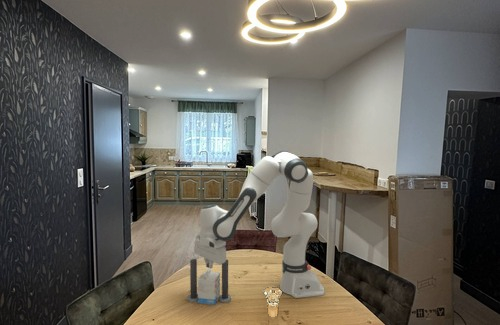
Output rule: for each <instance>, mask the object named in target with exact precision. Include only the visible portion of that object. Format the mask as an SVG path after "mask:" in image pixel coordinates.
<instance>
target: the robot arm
mask: <svg viewBox="0 0 500 325" xmlns="http://www.w3.org/2000/svg"><path fill="white" fill-rule="evenodd" d="M280 176H283V177H284V178H286V179H287V180H289V181H290V182H289V188H288V194H287V199H286V201H285V203H284V204H285V205H284V206H283V208H282V210H280V212H279V213H278V214H277V215H276V216H274V217H273V218H272V219H271V220H272V221H271V222H270V228H271V232H272V233H273V235H274V236H275V237H278V238H279V237H281V238H289V237H290V238H289V239H288V241H286V242H285V243H284V245H283V252H282V253H283V254H282V255H283V256H282V263H281V271H282V274H281V279H280V283H279V284H280V285H279V289H280V290H281V291H282V292H283V293H285V294H287V295H289V296H292V297H293V298H295V299H299V298H308V297H309V298H310V297H319V296H325V288H324V285H323V284H322V283H321V282H320V280H319V279H320V278H319V277H318V275H317V274H316V273H315V272H314V271H312V270H311V269H312V266H311V265H310V263H309V262H308V261H307V260H306V250H307V249H306V248H307V244H308V242H309V239H310V237H311V236H312V235H313V233H314V232H315V231H316V230H317V228H318V219H317V217H316V215H314V214H313V213H310V212H305V211H306V210H307V209H308V208H309V207H310V204H311V198H312V195H313V194H312V193H313V186H314V173H313V171H312V169H310V168H308V166H307V164H306V162H305V161H303V160H302V159H301V158H300V157H299V156H297V155H296V154H292V153H291V152H289V151H288V150H279V151H277V152H276V153H275V154H273V155H272V156H270V155H269V156H268V155H266V156H263V157H262V158H261V159H260V160H259V161H257V163H256V164H255V166H253V167H252V169H251V170H250V172H249V173H248V175H247V177H246V178H245V180H244V182H243V185H242V186H241V190H240V193H239V195H238V197H237V198H236V200H235V202H234V203H233V205H232V206H231V208H229V210H226V209H224V208H221V207H219V205H217V204H213V203H211V204H207V205H205V206H202V208H201V209H200V212H199V226H200V230H199V234H197V235H196V236H195V241H194V245H193V248H194V249H193V252H194V254H196V255H198V256H200V257H202V258H203V260H204V263H205V268H207V269H210V270H211V269H213V268H214V266H213V265H214V263H215V264H217V265H219V266H220V265H222V264H223V263H225V261H226V259H227V248H226V245H227V242H226V241H230V240H232V239H233V238H234V237H235V235H236V232H237V228H238V226H239V222H240V221H241V219H242V218H243V216H245V214H246V212H247V210H249V208H250V207H251V206H252V205H253V204H254V203H255V202H256V201H257V200H258V199H259V198H260V197H261V196H262V195H263V194H264V193H265V192H266V191H267V190H268V189H269V188H270V186H271V185H272V183H274V180H275V179H276V178H277V177H280Z"/></svg>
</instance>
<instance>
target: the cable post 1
mask: <svg viewBox="0 0 500 325" xmlns="http://www.w3.org/2000/svg"><path fill="white" fill-rule="evenodd" d="M197 261H198V260H197V259H196V258H192V259H190V261H189V262H190V263H189V265H190V268H189V270H190V276H189V278H190V280H189V282H190V294H189V295H188V296H186V297H187V298H186V299H187V302H188V303H192V304H193V303H198V276H197V275H198V273H197V272H198V270H197V269H198V264H197Z"/></svg>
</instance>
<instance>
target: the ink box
mask: <svg viewBox="0 0 500 325" xmlns="http://www.w3.org/2000/svg"><path fill="white" fill-rule="evenodd" d="M197 294H198V302H197V303H198V304H201V305H202V304H203V305H214V306H215V305H216V303H217V302H218V301H219V296H220V295H221V272H217V271H216V272H214V271H212V270H211V269H210V268H207V270H206V271H205V270H204V271H203V272H202V273H201V275H200V276H198V277H197Z"/></svg>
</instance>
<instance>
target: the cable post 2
mask: <svg viewBox="0 0 500 325" xmlns="http://www.w3.org/2000/svg"><path fill="white" fill-rule="evenodd" d="M218 301H219V302H220V303H222V304H227V303H229V302H231V301H232V295H231V294H229V259H227V258H226V261H225V263H223V264H221V294H220V296H219V299H218Z"/></svg>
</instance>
